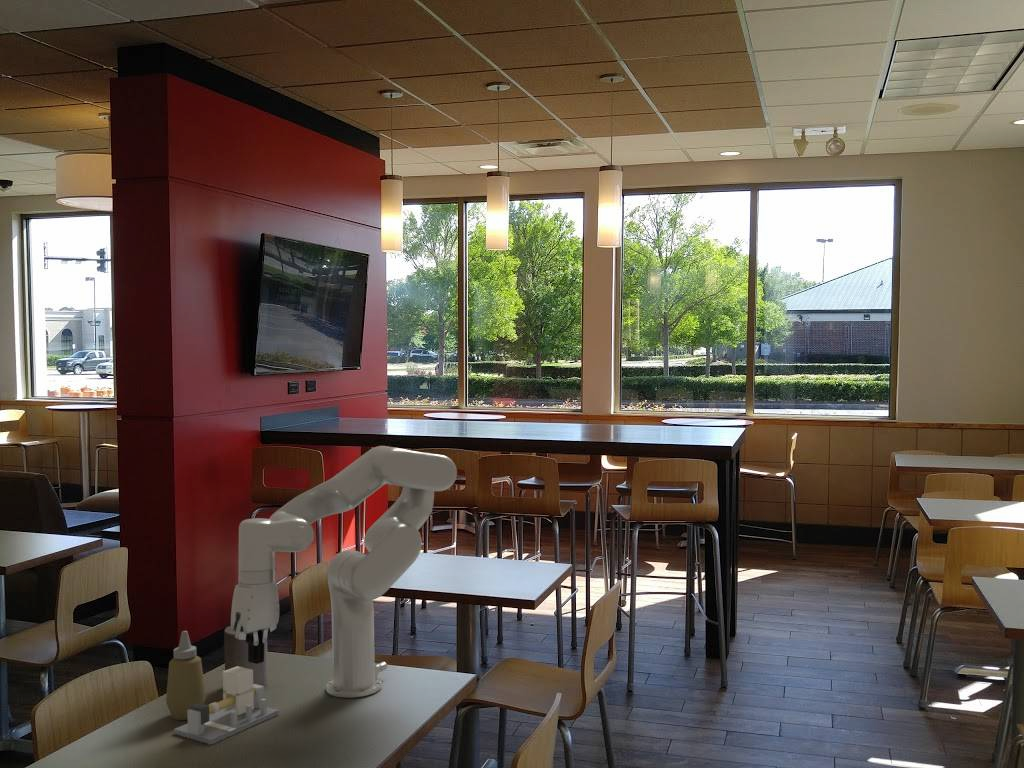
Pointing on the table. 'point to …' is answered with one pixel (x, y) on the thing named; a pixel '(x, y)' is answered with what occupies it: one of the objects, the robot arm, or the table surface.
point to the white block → (238, 688)
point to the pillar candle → (243, 657)
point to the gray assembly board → (224, 718)
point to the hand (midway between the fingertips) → (256, 661)
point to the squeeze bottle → (184, 679)
